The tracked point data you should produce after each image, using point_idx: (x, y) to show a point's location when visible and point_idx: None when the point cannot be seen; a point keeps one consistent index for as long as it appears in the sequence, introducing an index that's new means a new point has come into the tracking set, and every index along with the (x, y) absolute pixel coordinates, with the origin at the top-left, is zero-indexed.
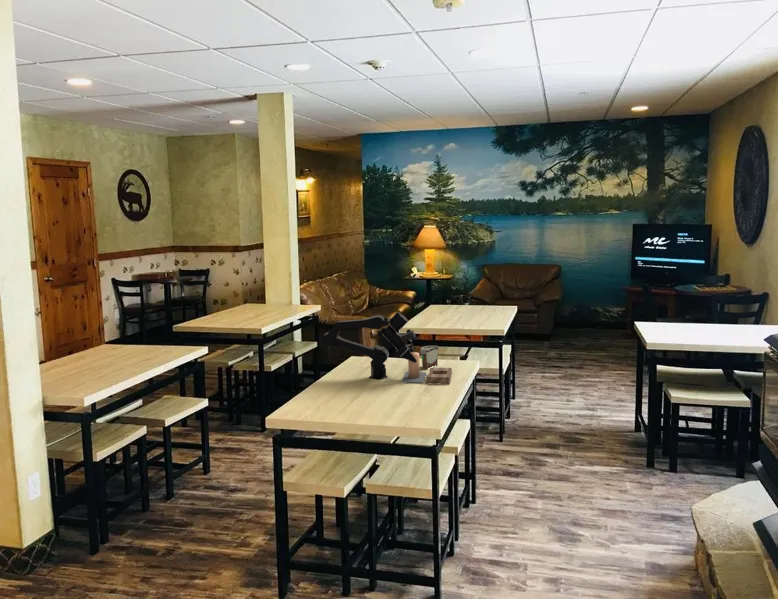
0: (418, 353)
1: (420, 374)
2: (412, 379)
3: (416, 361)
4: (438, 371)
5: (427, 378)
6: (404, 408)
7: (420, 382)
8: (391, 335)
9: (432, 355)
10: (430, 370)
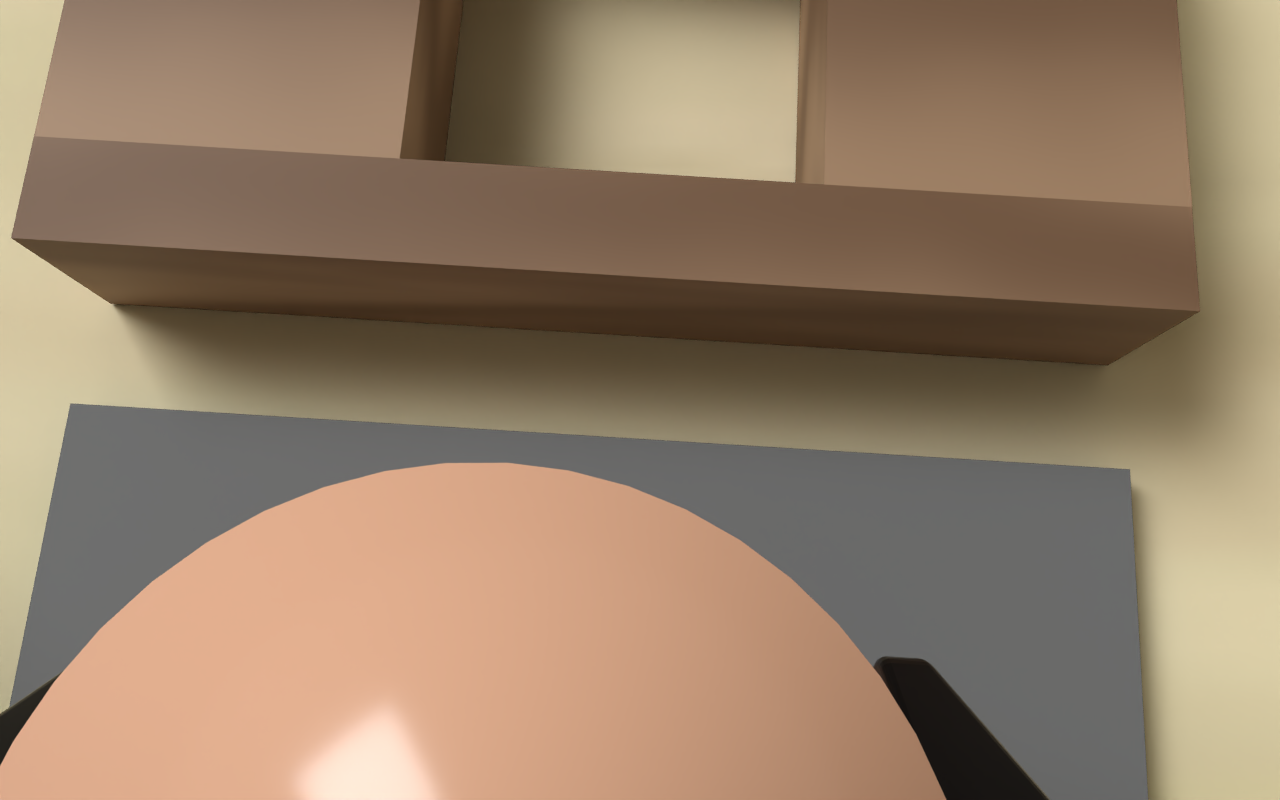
0: (523, 534)
1: None
2: None
3: (926, 676)
4: (422, 38)
5: (1175, 324)
6: None
7: (1129, 540)
8: None
9: None
10: (394, 239)
